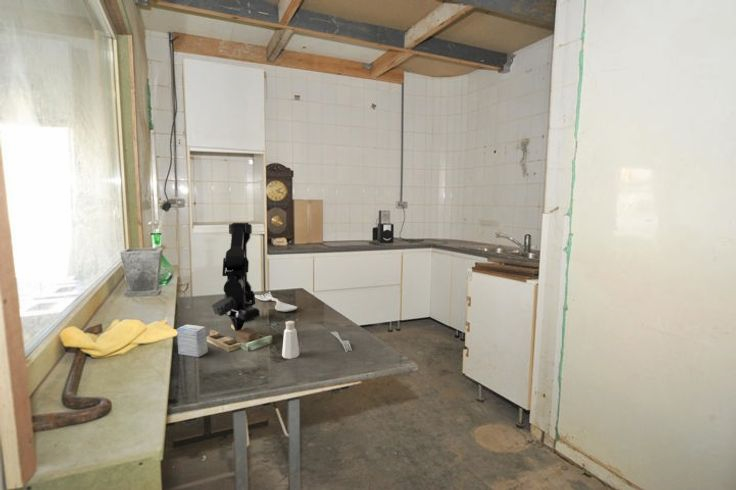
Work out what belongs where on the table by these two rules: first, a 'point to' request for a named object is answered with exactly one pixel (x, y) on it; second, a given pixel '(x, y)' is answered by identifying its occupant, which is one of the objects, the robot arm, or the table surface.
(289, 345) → the salt shaker
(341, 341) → the fork
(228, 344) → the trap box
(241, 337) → the block
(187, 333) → the medicine box
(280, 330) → the wrench
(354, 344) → the table surface
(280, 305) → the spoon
